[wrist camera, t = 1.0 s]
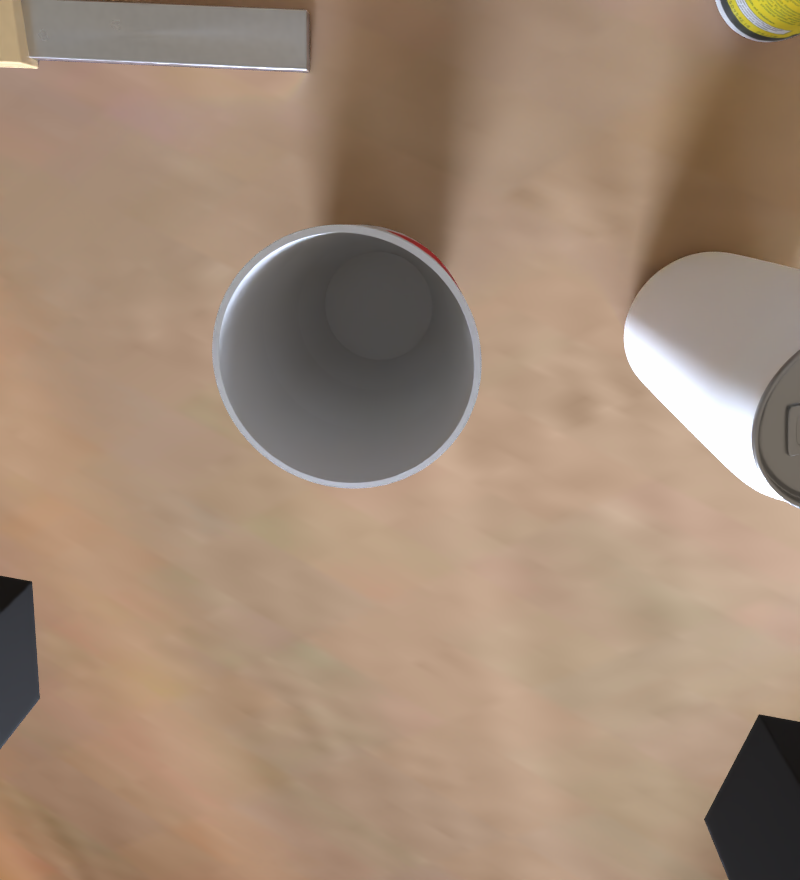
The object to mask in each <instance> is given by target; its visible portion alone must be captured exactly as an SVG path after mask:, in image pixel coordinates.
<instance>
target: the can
mask: <svg viewBox="0 0 800 880" xmlns="http://www.w3.org/2000/svg"><path fill="white" fill-rule="evenodd" d="M624 346H625V351H626V355H627V358H628V361H629V363H630V365H631V367H632V369H633V371H634V372H635V374H636V375H637V376H638V378H639V379H640V380H641V381H642V382H643V383H644V385H645V386H646V387H647V388H648V389H649V390H650V391H651V392H652V393H653V394H654V395H655V396H656V397H657V398H658V399H659V400H660V401H661V402H662V403H663V404H664V405H665V406H666V407H667V408H668V409H669V410H670V411H671V412H672V413H673V414H674V415H675V416H676V417H677V418H678V419H679V420H680V421H681V422H682V423H683V424H684V425H685V426H686V427H687V428H688V429H689V430H690V431H691V432H692V433H693V435H694V436H695V437H696V438H697V439H698V440H699V441H700V442H701V443H702V444H703V445H705V446H706V447H707V448H708V449H709V450H710V451H711V452H712V453H713V454H714V455H715V456H716V457H717V458H718V459H719V460H720V461H721V462H722V463H723V464H724V465H725V466H726V467H727V468H728V469H729V470H730V471H731V472H732V473H733V474H735V475H736V476H737V477H738V478H739V479H740V480H742V481H743V482H744V483H746V484H747V485H749V486H750V487H752V488H753V489H755V490H756V491H758V492H760V493H762V494H764V495H767V496H769V497H772V498H775V499H779V500H782V501H786V502H787V503H789V504H791V505H793V506H795V507H797V508H799V509H800V269H796V268H792V267H788V266H784V265H780V264H776V263H772V262H767V261H763V260H759V259H755V258H750V257H746V256H741V255H737V254H732V253H726V252H702V253H696V254H692V255H689V256H686V257H683V258H680V259H678V260H676V261H674V262H672V263H670V264H668V265H667V266H665V267H664V268H662V269H661V270H659V271H658V272H657V273H656V274H655V275H653V276H652V277H651V278H650V279H649V280H648V281H647V282H646V283H645V285H644V286H643V287H642V288H641V290H640V291H639V292H638V294H637V295H636V297H635V299H634V301H633V303H632V305H631V307H630V309H629V312H628V315H627V318H626V322H625V328H624Z"/></svg>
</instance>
